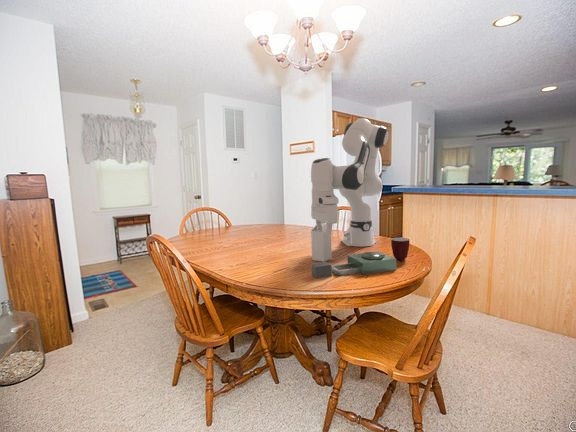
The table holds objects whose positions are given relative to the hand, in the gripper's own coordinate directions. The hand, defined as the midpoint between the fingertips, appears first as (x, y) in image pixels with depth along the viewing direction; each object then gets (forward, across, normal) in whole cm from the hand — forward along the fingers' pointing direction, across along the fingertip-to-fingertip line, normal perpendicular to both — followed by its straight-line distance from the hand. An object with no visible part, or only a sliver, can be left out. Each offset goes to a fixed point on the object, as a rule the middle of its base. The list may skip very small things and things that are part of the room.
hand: (323, 232), depth 125 cm
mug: (+19, -6, +41) cm, 45 cm away
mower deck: (+19, -2, +18) cm, 26 cm away
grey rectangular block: (+19, -1, -1) cm, 19 cm away
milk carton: (+18, -23, +8) cm, 30 cm away
